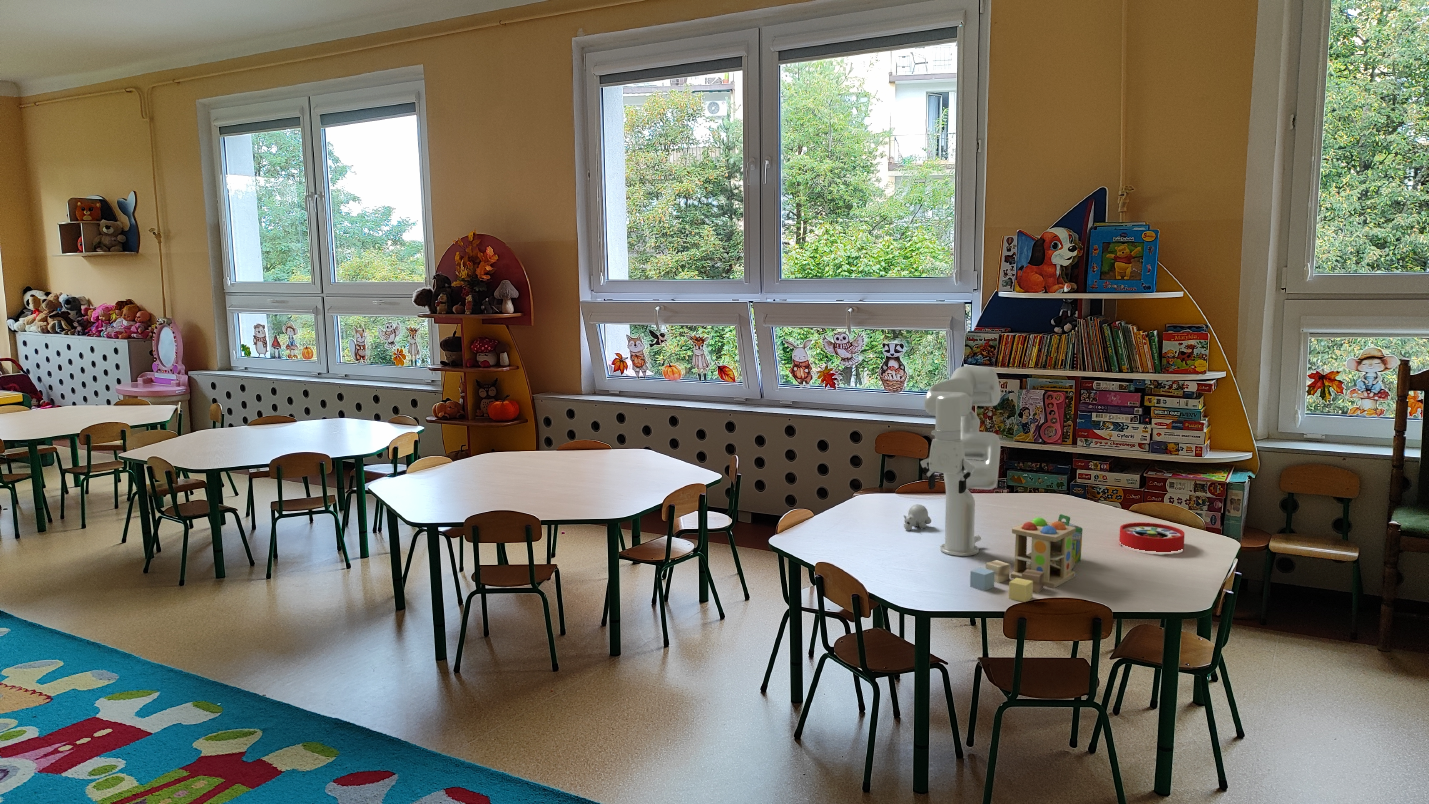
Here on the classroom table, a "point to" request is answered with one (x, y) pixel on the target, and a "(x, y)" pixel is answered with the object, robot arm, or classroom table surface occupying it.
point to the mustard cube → (1020, 589)
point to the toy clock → (1151, 537)
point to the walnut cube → (1034, 579)
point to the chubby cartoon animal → (917, 517)
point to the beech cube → (999, 570)
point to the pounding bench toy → (1045, 550)
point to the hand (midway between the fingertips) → (946, 490)
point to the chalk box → (1074, 538)
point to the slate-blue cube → (982, 579)
